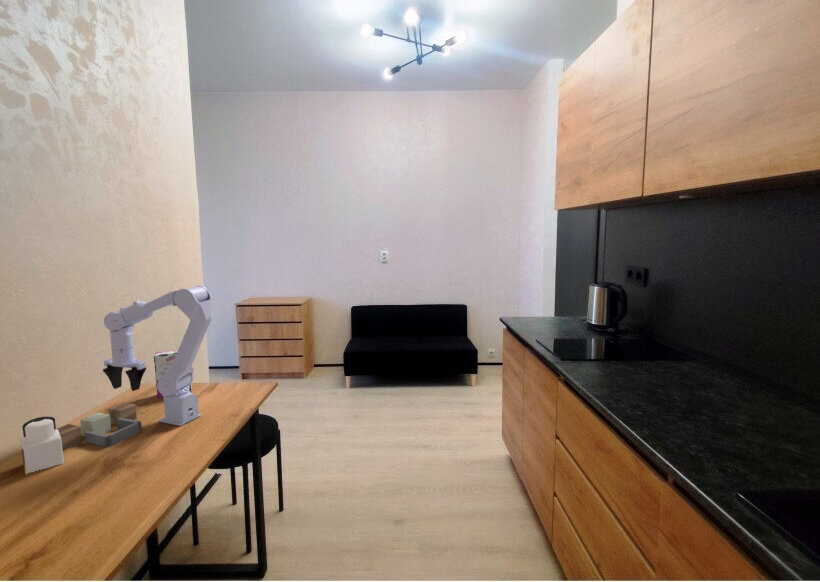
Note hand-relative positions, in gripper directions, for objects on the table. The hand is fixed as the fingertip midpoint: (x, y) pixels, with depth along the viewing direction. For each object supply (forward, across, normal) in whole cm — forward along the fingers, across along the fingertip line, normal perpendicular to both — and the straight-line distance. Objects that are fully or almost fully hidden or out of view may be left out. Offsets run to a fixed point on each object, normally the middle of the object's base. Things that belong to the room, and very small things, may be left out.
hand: (126, 388), depth 126 cm
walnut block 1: (+10, 0, +18) cm, 21 cm away
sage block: (+10, 0, +10) cm, 14 cm away
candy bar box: (+10, +3, -21) cm, 23 cm away
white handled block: (+10, -4, +27) cm, 29 cm away
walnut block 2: (+10, -1, +2) cm, 10 cm away
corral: (+10, -8, +11) cm, 17 cm away
